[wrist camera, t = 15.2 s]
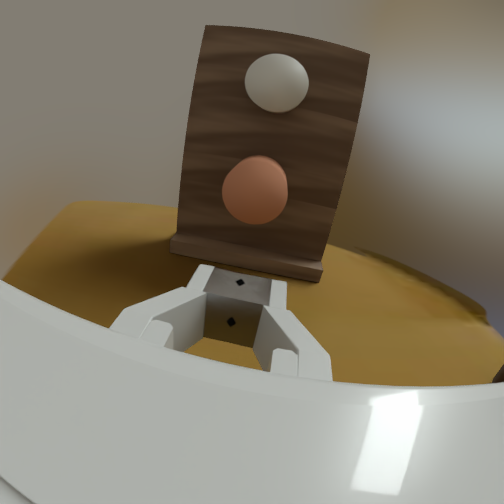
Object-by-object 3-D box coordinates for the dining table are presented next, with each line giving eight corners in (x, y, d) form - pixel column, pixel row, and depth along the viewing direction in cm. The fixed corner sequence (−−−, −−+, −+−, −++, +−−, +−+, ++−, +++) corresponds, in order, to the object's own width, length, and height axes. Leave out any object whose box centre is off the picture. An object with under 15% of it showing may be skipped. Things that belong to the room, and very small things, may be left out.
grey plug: (302, 117, 20) (313, 60, 18) (239, 105, 20) (250, 49, 18) (296, 119, 29) (304, 78, 27) (252, 110, 29) (260, 70, 27)
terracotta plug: (280, 230, 22) (293, 168, 20) (218, 217, 22) (227, 156, 20) (281, 197, 31) (290, 154, 29) (237, 188, 31) (244, 145, 29)
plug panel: (319, 282, 29) (376, 49, 18) (169, 252, 29) (200, 19, 19) (313, 256, 34) (359, 61, 24) (186, 231, 35) (214, 35, 24)
